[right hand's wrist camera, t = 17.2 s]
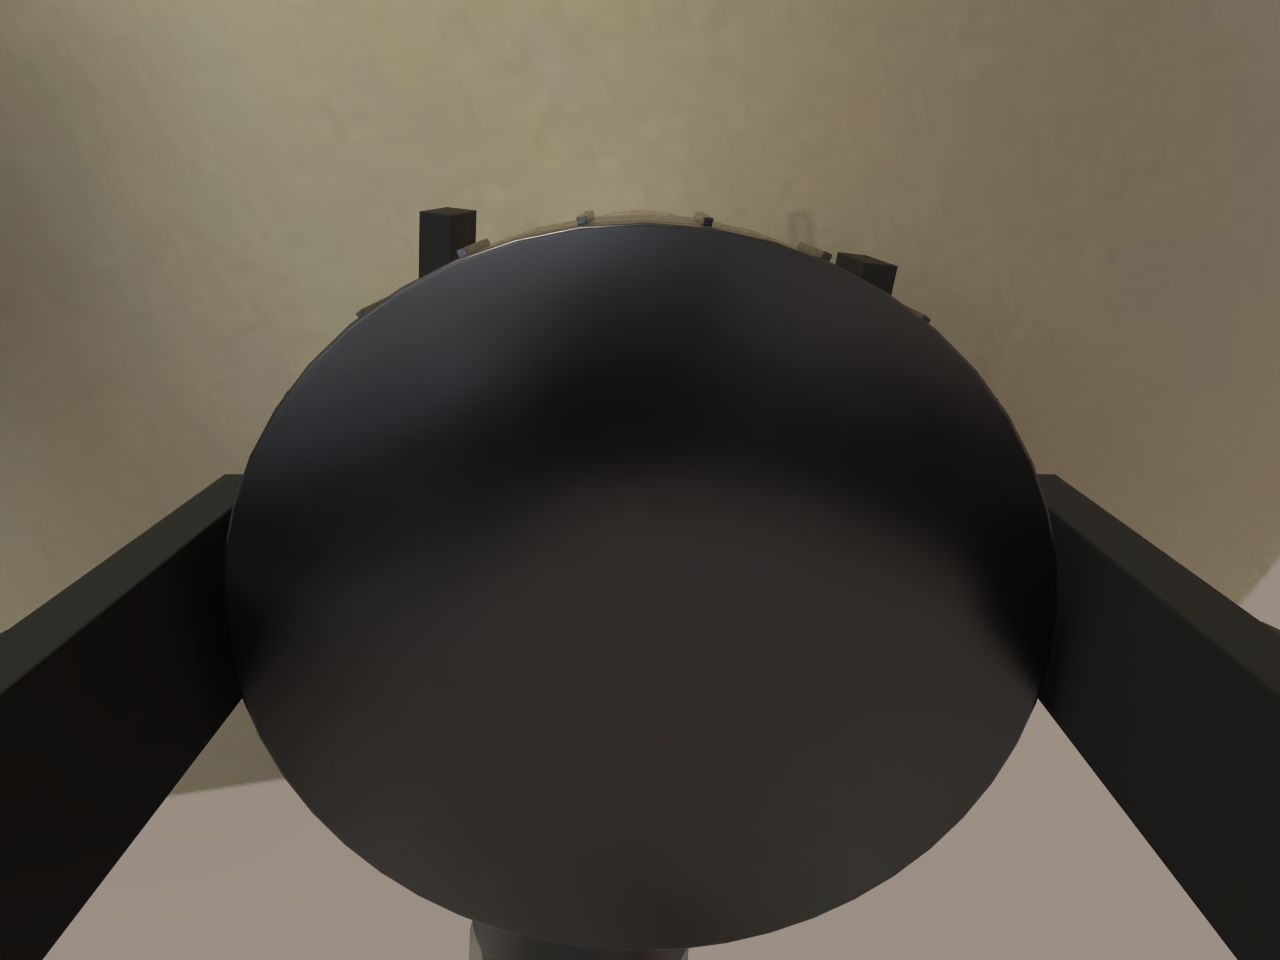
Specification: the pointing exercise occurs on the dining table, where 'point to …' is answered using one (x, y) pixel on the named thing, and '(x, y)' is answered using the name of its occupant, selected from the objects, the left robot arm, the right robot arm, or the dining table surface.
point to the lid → (640, 584)
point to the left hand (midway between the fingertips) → (659, 235)
